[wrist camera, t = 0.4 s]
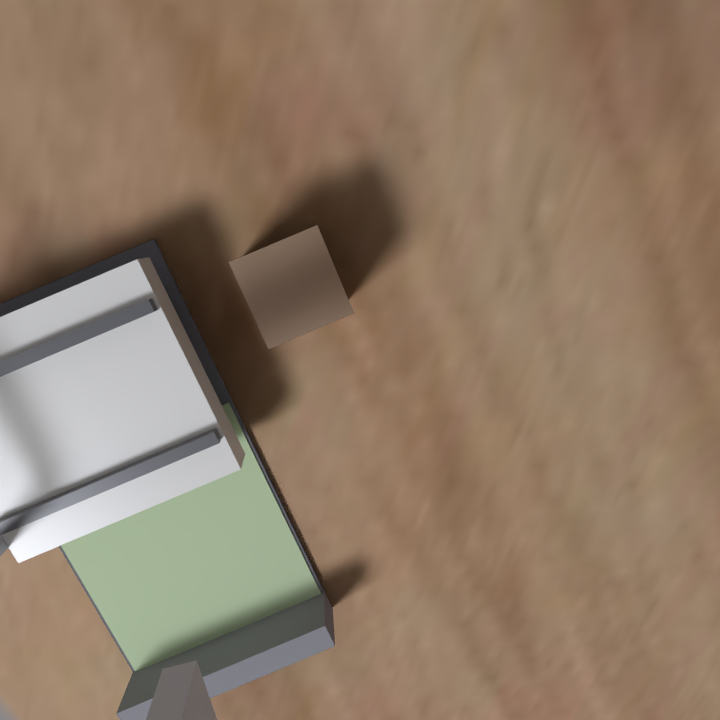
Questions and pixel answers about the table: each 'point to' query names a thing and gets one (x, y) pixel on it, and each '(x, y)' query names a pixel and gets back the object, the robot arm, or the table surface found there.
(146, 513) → the grey holder base
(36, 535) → the white tray
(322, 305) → the block
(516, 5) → the table surface
